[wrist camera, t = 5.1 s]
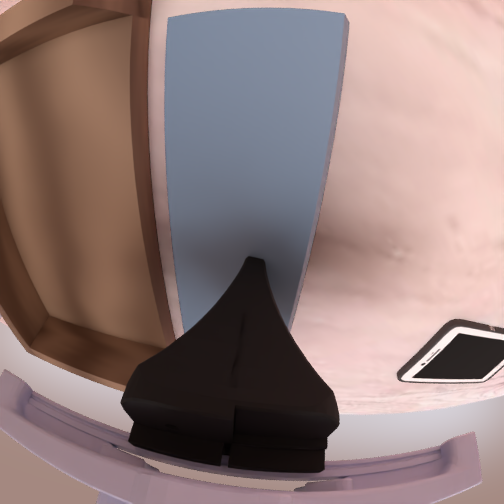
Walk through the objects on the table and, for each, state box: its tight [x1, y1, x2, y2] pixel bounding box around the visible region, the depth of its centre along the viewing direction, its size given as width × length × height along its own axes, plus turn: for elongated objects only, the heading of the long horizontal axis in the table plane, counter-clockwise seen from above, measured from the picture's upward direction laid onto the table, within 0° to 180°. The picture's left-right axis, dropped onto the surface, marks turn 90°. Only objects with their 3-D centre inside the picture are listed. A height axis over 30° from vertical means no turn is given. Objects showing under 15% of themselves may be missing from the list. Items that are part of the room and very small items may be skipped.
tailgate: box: [165, 8, 349, 334], centre depth 12 cm, size 1×18×6 cm
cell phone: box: [397, 319, 504, 384], centre depth 18 cm, size 8×15×1 cm, turn 76°
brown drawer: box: [0, 0, 175, 392], centre depth 12 cm, size 12×21×5 cm, turn 176°
